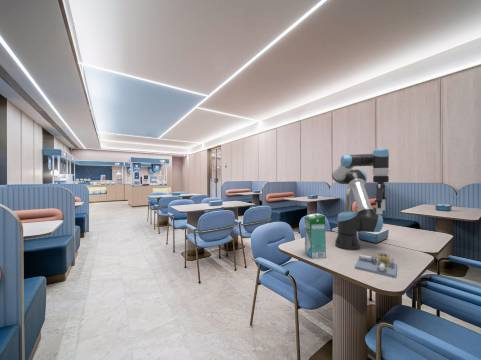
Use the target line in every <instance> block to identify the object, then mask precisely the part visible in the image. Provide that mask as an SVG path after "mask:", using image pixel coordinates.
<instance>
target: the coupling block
mask: <svg viewBox="0 0 481 360" xmlns="http://www.w3.org/2000/svg"><path fill="white" fill-rule="evenodd" d="M377 260H378V265H379V263H380V262H384V263H385V264H386V267H389V268H390V263H391V254H387V253H384V252H383V253H382V252H378V254H377Z"/></svg>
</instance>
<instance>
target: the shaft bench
mask: <svg viewBox="0 0 481 360" xmlns="http://www.w3.org/2000/svg"><path fill="white" fill-rule="evenodd" d="M394 259H395V258H391V260H390V268H389V267H386V264H385V263H384V262H380V263H379V265H378V256H377V255H371V256H370V255H365V254H360V253H359V254H358V260H357V261H356V263H355V264H354V269H356V270H360V271H365V272H368V273H372V274H377V275H382V276H386V277H389V278H396V279H397V272H398V271H397V270H398V263H396V262H395V260H394Z"/></svg>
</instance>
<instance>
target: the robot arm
mask: <svg viewBox="0 0 481 360" xmlns="http://www.w3.org/2000/svg"><path fill="white" fill-rule="evenodd" d="M389 152H390V151H389V149H388V148H383V147H382V148H375V149H373V151H372V153H362V154H360V153H359V154H344V155H341V157H340V164H339V166H338V167H337V168H335V169H334V170H333V171H332V173H331V178H332V179H333V181H334V182H336V183H337V184H340V185H348V187H349V188H350V189H351V190H352V194H353V198H354V200H355V204H356V208H357V210H358V211H357V212H356V211H343V212H339V213H338V214H337V236H336V239H335V242H334V243H335V244H334V245H335V247H336V248H339V249H342V250H348V251H358V250H360V249H361V243H360V240H359V237H358V232H359V233H360V232H361V233H362V232H363V233H380V232H381V231H382V229H383V227H384V226H383V225H384V218H383V216H382V215H383V211H386V200H387V197H386V185H385V183H389V181H390V178H389V177H390V176H389V175H390V174H389V172H390V171H391V169H389V167H390V166H389V163H390V162H389V160H390V153H389ZM354 167H372V175H373V177H372V182H373V183H377V184H376V186H375V187H376V195H375V200H374V203H375V206H376V209H373V207H372V204H371V201H370V198H369V196H368V193H367V190H366V188H365V184H366V183H367V180H368V179H367V178H368V177H367V174H366V172H365V170H363V169H358V168H357V169H353V168H354Z"/></svg>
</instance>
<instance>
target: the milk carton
mask: <svg viewBox="0 0 481 360" xmlns="http://www.w3.org/2000/svg"><path fill="white" fill-rule="evenodd" d="M326 239H327V237H326V215H324V214H321V213H313V214H309V215H308V216H305V217H304V253H305V254H306V255H307V256H308V257H309V258H310V259H326V258H327V256H326V255H327V252H326V251H327V249H326V248H327V247H326V246H327V245H326V243H327V242H326Z"/></svg>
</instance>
